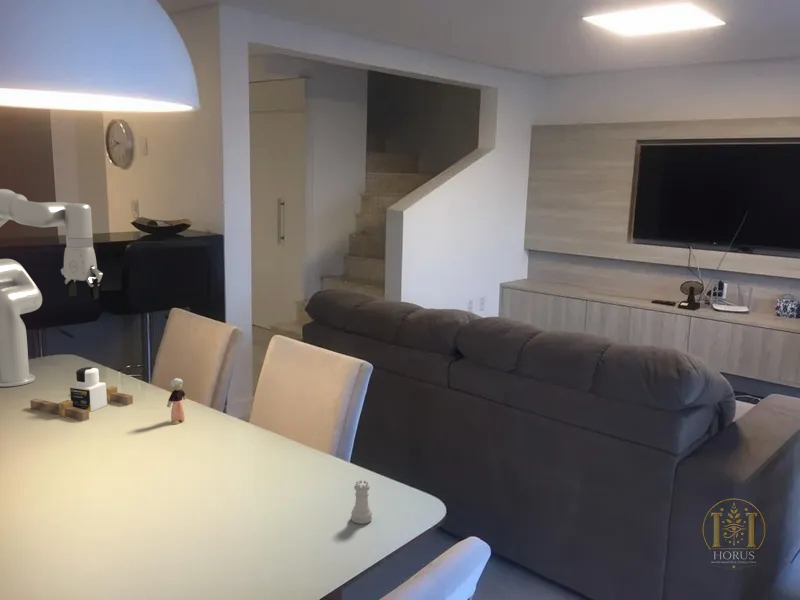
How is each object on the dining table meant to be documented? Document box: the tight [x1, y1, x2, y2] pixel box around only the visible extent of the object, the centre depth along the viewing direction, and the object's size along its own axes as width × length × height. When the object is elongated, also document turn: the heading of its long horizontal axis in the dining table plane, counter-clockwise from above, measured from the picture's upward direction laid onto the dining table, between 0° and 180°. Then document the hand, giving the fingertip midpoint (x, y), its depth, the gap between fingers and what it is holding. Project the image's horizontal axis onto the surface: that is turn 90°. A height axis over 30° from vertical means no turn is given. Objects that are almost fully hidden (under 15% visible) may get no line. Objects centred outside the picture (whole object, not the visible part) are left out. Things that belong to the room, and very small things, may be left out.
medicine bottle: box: [69, 366, 108, 413], centre depth 205 cm, size 7×7×12 cm
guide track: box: [30, 385, 134, 422], centre depth 207 cm, size 22×19×4 cm
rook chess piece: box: [350, 479, 373, 525], centre depth 141 cm, size 4×4×8 cm
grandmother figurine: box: [166, 377, 187, 425], centre depth 195 cm, size 8×4×13 cm, turn 171°
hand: (82, 297), depth 218 cm, fingers open, 9 cm apart
